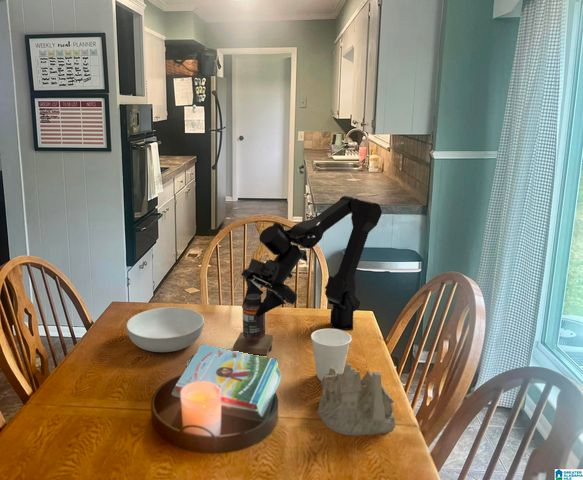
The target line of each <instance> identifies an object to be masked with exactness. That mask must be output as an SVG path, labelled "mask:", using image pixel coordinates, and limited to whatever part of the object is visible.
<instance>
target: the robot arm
mask: <svg viewBox="0 0 583 480" xmlns="http://www.w3.org/2000/svg"><path fill="white" fill-rule="evenodd" d="M382 212H383V210H382V208H381V206H380V204H379V203H377V202H372V201H367V200H362V199H361V200H360V199H358V198H357V197H354V196H348V195H344V196H343V195H342V196H341V197H340V199H339V200H337V201H336V202H335V203H333V204H332V205H330V206H329V207H328V208H326V209H325V210H323V211H322V212H321V213H319V214H317V215H316V216H315V217H313V218H312V219H307V220H302V221H301V222H298V223H295V224H294V225H293V226H292V227H291V228H289V229H286V230H285V229H284V227H283V226H282V224H281V223H279V222H274V223H273V225H270V226H268V227H266V228H265V229H264V230H262V231H261V233H260V234H259V239H258V240H259V241H260V243H261V244H262V245H263V246H264V247H265V248H266V249H267V250H268V251H269V252H270V253H271V254H272V255H274V256H275V258H274V259H269V260H266V261H265V262H264V261H261V260H257V259H255V258H251V260H250V262H249V265H248V267H247V268H244V269H243V271H242V273H241V274H240V275H241V277H242V278H244V280H245V282H246V287H247V289H246V292H245V295H244V296H245V297H244V300H243V302H242V306H241V308H242V309H243V305H244V304H245V303H246V302H247V301H246V296H247V295H249V294H259V295H261V296H262V295H263V294H264V291H263V290H261V289H262V288H265V289H266V290H265V297H264V299H263V301H261V302H262V304H261V305H260V307H259V308H258V310H257V312H256V314H255V315H256V316H257V317H259V316H261V315H263V314H264V313H265V314H266V313H268V312H269V311H271V310H273V309H275V308H277V307H279V306H281V305H286V303H287V304H289V305H291V306H294V304H295V303H296V301H297V299H298V294H297V293H296V292H295V291H294V290H293V289H292V288H291V287H290V286H288V285H287V284H285V282H286V280H287V279H288V278H289V279H292V278H293V276H294V275H293V274H292V272H293V270H294V269H295V268H296V267H297V265H298V263H299V262H300V260H302V261H304V262H308V256H307V251H306V250H304V249H301V248H305V249H308V250H309V249H312V248H314V247H315V246H316V245H317V244H318V243H319V242H320V241H321V240H322V238H323V236H324V233H325V232H326V231H328V230H329V229H330V228H332V227H333V226H334V225H336V224H338V223H339V222H340V221H341V220H343V219H344V218H346V217H347V216H348V215H350V213H351V217H350V218H351V219H350V220H351V223H352V224H351V225H352V230H351V233H350V235H349V238H348V241H347V245H346V248H345V251H344V253H343V257H342V259H341V263H340V265H339V269H338V271H337V273H336V274H334V276H331V275H330V276H329V277H327V282H326V283H327V284H325V287H324V289H325V291H324V295H325V297H326V299H327V301H328V304H329V305H331V306H332V308H331V309H330V325H331V329H338V330H353V329H354V312H356V311H357V310H359V309H360V305H361V301H360V300H359V299H358V298H357V296H355V292H356V284H355V276H356V271H357V269H358V266H359V263H360V260H361V258H362V254H363V252H364V248H365V245H366V242H367V239H368V236H369V233H371V231H372V230H374V228H375V227H377V225H378V223H379V221H380V219H381V217H382ZM300 247H301V248H300Z"/></svg>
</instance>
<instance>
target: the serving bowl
mask: <svg viewBox="0 0 583 480" xmlns="http://www.w3.org/2000/svg"><path fill="white" fill-rule="evenodd" d="M204 325H205V319H204V316H203V314H201V313H199V312H198V311H196V310H194V309H191V308H185V307H178V306H177V307H175V306H167V307H166V306H165V307H158V308H156V307H155V308H151V309H148V310H144V311H142V312H139V313H136V314H135V315H133V316H132V317H130V318H129V319H128V320H127V323H126V325H125V326H126V327H125V328H126V331H127V334H128V337H129V339H130V340H131V342H132V343H133V344H134V345H136V346H137V347H139V348H141V349H143V350H145V351H149V352H153V353H154V352H155V353H169V352H176V351H180V350H184V349H185V348H187V347H189V346H191V345H193V344H194V343H195V342H196V341H197V340H198V339H199V338H200V336H201V334H202V333H203V330H204Z"/></svg>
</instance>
